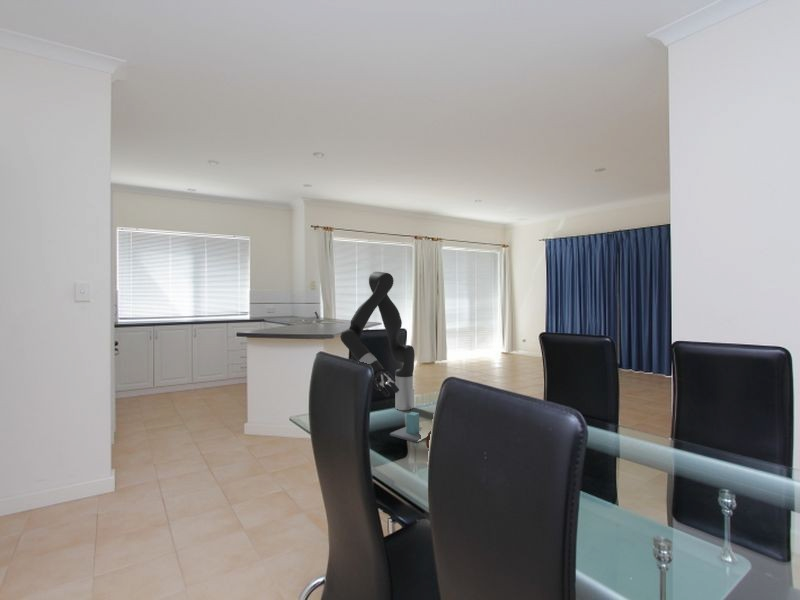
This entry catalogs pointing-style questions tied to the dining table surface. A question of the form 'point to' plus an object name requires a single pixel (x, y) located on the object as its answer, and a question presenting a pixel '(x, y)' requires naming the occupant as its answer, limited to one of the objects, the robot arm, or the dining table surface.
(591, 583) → the dining table surface
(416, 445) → the dining table surface
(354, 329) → the robot arm
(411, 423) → the block
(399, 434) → the mat
